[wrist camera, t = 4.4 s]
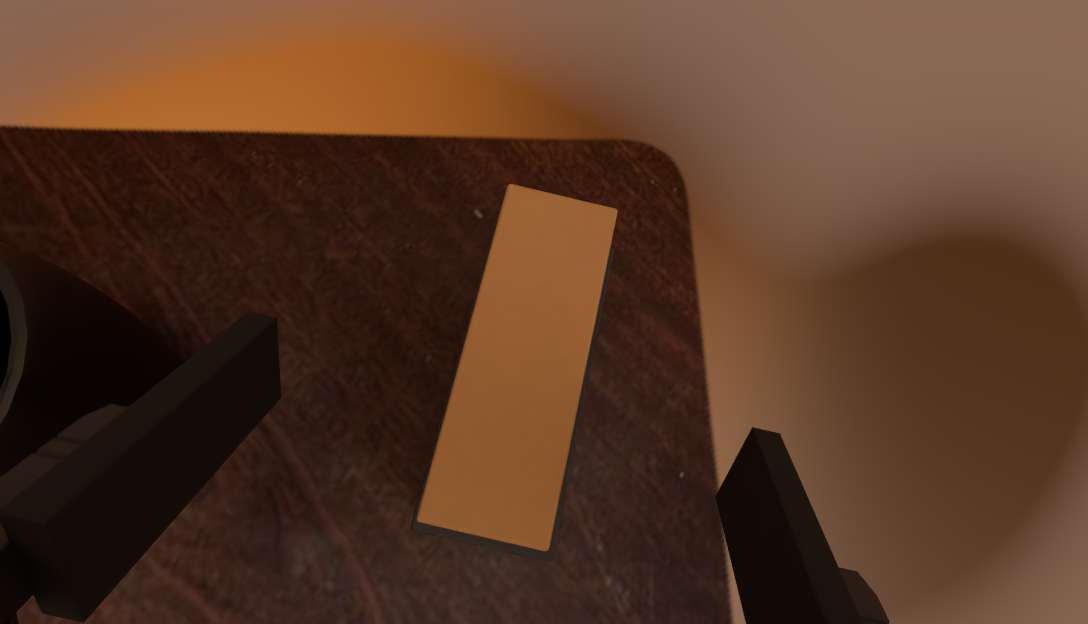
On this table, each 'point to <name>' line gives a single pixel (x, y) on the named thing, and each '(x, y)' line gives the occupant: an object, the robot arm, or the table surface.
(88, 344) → the mug
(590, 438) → the table surface
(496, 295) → the eraser
